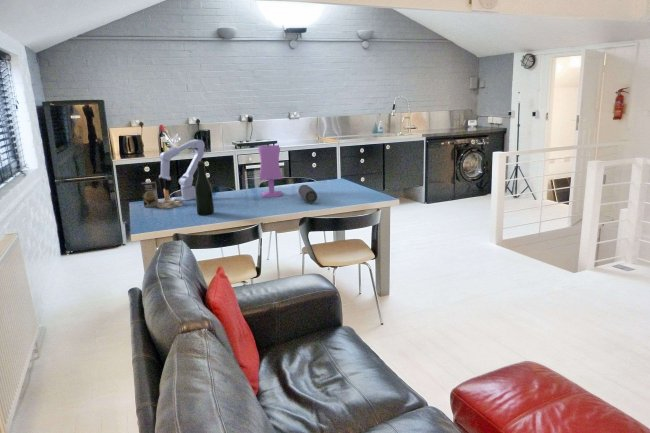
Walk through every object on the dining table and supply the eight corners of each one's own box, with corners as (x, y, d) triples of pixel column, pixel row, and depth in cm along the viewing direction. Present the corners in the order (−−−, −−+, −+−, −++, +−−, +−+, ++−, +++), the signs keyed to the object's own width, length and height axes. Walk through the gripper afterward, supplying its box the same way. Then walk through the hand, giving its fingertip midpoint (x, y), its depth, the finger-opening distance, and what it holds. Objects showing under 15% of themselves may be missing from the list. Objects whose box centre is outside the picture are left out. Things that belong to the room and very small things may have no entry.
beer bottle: (197, 216, 288) (191, 162, 279) (197, 212, 297) (191, 160, 289) (214, 214, 290) (209, 161, 281) (214, 210, 300) (209, 159, 291)
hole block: (176, 203, 326) (176, 198, 325) (183, 205, 319) (182, 200, 318) (157, 206, 317) (156, 202, 317) (163, 209, 310) (162, 204, 309)
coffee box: (144, 207, 317) (140, 183, 312) (144, 205, 323) (141, 182, 318) (158, 206, 319) (155, 182, 315) (158, 204, 325) (155, 181, 321)
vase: (283, 196, 335) (280, 147, 326) (261, 198, 333) (257, 148, 324) (281, 192, 350) (279, 145, 341) (260, 193, 348) (257, 146, 339)
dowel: (168, 202, 330) (166, 188, 328) (170, 202, 328) (168, 188, 325) (164, 202, 328) (162, 188, 326) (166, 203, 326) (164, 189, 323)
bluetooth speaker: (297, 198, 328) (297, 184, 325) (310, 197, 330) (310, 183, 327) (304, 205, 306) (303, 190, 304) (318, 204, 308) (317, 189, 306)
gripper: (155, 168, 325) (154, 188, 328) (163, 170, 315) (163, 190, 317) (165, 168, 330) (164, 188, 332) (173, 170, 320) (173, 190, 322)
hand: (164, 189), depth 325 cm, fingers open, 7 cm apart
